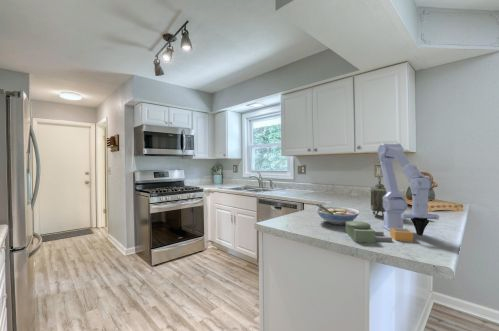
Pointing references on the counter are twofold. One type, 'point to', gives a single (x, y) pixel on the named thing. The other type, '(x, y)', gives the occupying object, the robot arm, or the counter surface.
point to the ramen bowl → (337, 214)
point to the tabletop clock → (378, 198)
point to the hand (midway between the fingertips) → (419, 234)
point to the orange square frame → (401, 234)
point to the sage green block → (364, 232)
